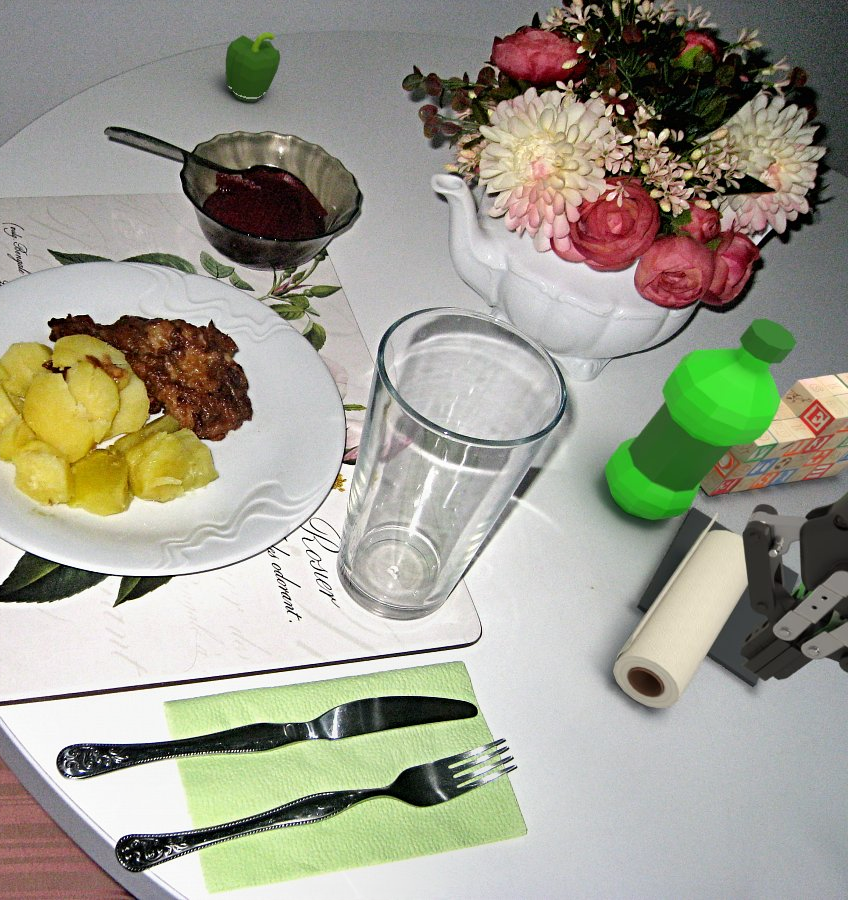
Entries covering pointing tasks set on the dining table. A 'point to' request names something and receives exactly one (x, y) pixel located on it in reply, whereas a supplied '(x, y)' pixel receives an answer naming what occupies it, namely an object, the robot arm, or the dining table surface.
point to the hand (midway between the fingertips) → (756, 664)
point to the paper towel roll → (683, 620)
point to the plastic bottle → (699, 422)
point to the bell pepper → (251, 66)
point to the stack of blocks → (791, 441)
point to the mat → (742, 615)
